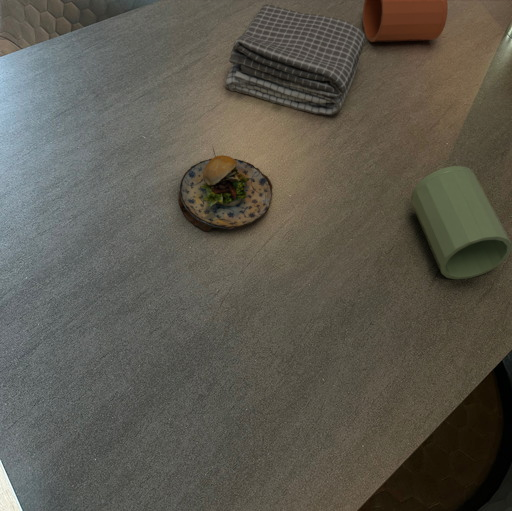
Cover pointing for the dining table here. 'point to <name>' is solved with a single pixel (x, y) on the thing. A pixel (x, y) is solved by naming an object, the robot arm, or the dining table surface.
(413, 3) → the terracotta cup
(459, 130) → the dining table surface
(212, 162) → the burger
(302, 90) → the towel
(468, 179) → the sage cup
